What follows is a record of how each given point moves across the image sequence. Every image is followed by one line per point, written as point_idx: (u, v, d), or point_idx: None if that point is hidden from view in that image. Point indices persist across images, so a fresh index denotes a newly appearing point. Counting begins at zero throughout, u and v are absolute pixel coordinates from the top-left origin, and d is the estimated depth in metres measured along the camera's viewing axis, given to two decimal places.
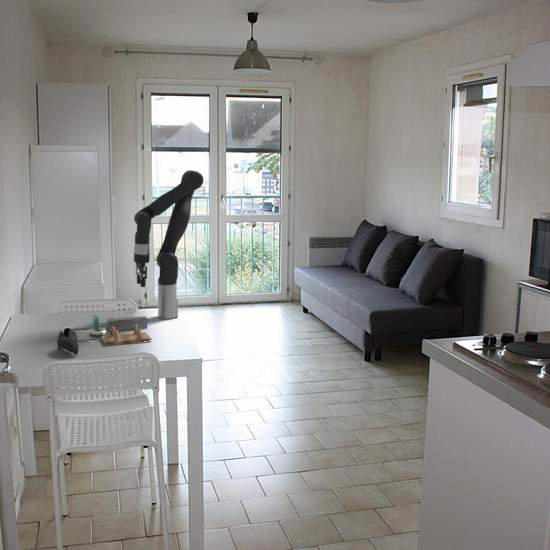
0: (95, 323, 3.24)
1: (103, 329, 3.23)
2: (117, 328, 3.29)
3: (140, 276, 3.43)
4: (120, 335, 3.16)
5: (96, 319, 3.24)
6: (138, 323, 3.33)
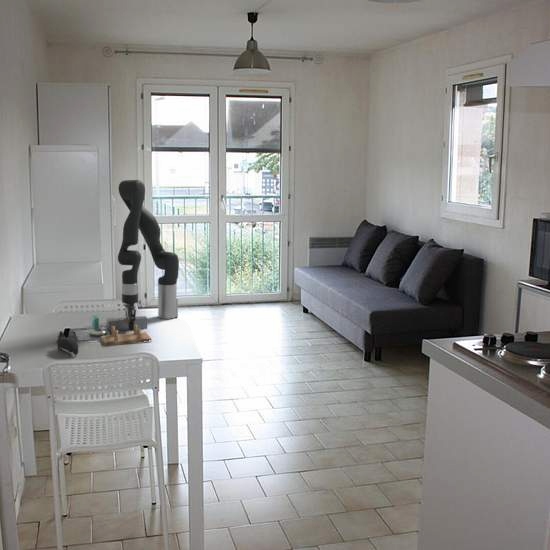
0: (95, 323, 3.24)
1: (103, 329, 3.23)
2: (117, 328, 3.29)
3: None
4: (120, 335, 3.16)
5: (96, 319, 3.24)
6: (138, 323, 3.33)
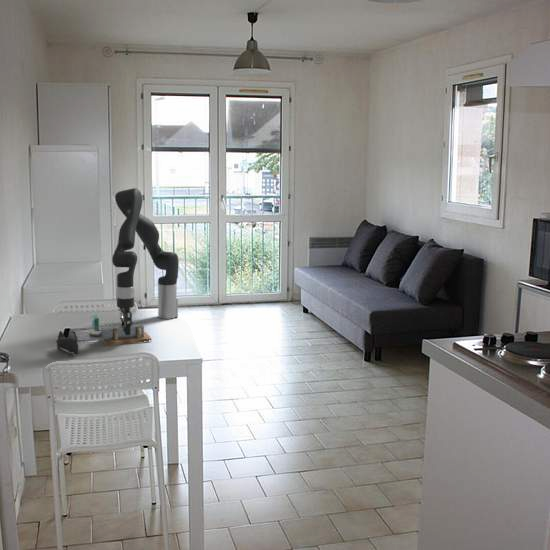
0: (95, 323, 3.24)
1: None
2: (112, 337, 3.09)
3: (124, 323, 3.09)
4: None
5: (96, 319, 3.24)
6: (134, 331, 3.12)
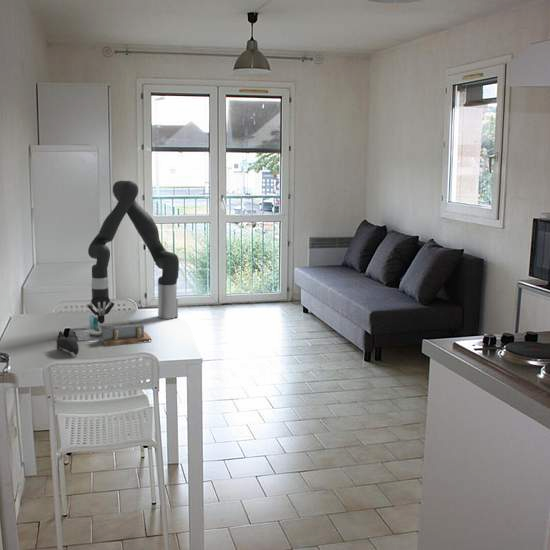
0: (94, 323, 3.24)
1: None
2: (112, 337, 3.09)
3: None
4: None
5: (95, 319, 3.24)
6: (134, 331, 3.12)
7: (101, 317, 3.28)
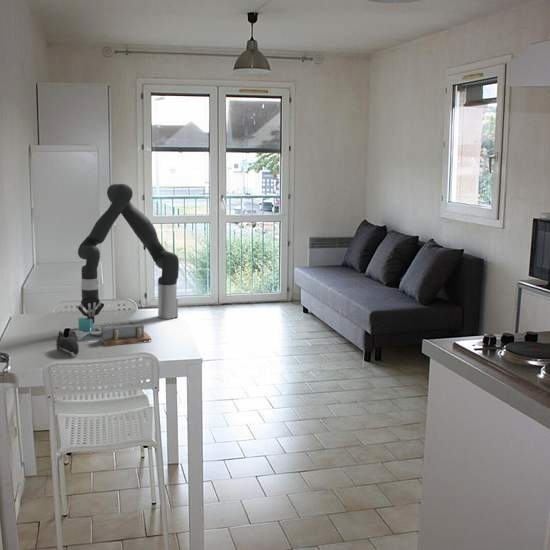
0: (90, 324, 3.22)
1: None
2: (112, 337, 3.09)
3: None
4: None
5: (91, 320, 3.22)
6: (134, 331, 3.12)
7: (91, 318, 3.26)
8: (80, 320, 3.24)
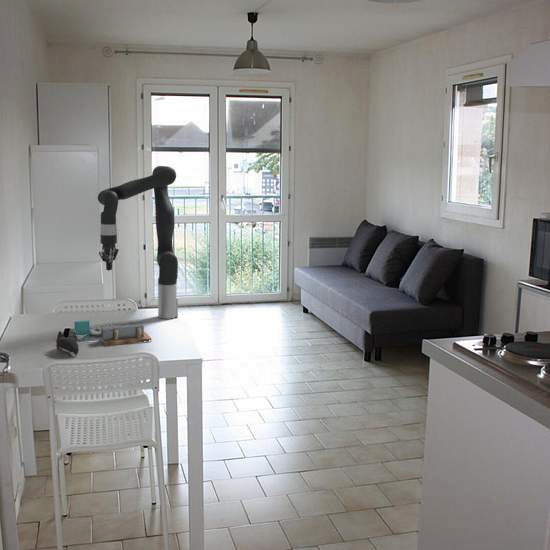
0: None
1: (96, 328, 3.24)
2: (112, 337, 3.09)
3: None
4: None
5: None
6: (134, 331, 3.12)
7: (111, 264, 3.32)
8: (77, 324, 3.17)
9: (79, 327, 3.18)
